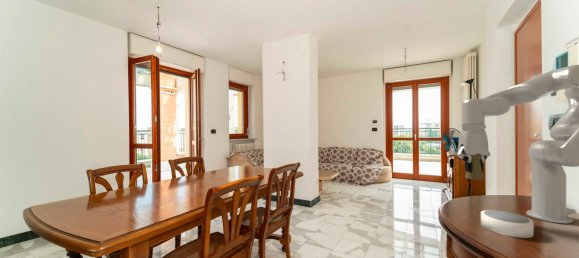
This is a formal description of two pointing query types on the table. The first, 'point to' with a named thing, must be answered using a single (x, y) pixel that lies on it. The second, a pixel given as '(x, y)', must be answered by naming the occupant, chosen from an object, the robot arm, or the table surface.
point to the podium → (507, 223)
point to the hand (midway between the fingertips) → (474, 171)
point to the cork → (475, 168)
